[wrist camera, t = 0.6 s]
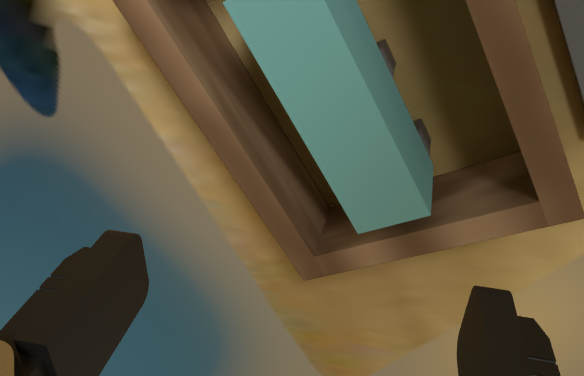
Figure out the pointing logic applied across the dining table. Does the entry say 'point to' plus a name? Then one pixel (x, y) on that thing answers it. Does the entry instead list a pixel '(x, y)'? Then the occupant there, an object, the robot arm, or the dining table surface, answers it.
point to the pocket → (446, 188)
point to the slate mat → (573, 35)
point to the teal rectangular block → (341, 105)
